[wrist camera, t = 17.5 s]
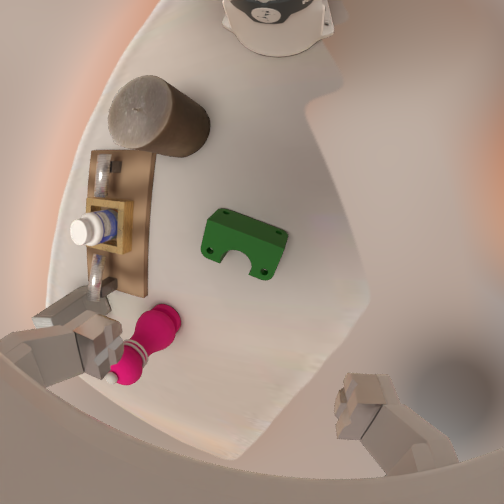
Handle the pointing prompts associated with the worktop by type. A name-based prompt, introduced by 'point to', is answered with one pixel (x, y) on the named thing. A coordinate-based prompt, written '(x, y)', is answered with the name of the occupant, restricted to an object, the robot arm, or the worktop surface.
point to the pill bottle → (95, 227)
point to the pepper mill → (145, 343)
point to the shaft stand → (120, 221)
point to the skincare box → (70, 309)
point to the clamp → (244, 241)
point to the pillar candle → (157, 118)
